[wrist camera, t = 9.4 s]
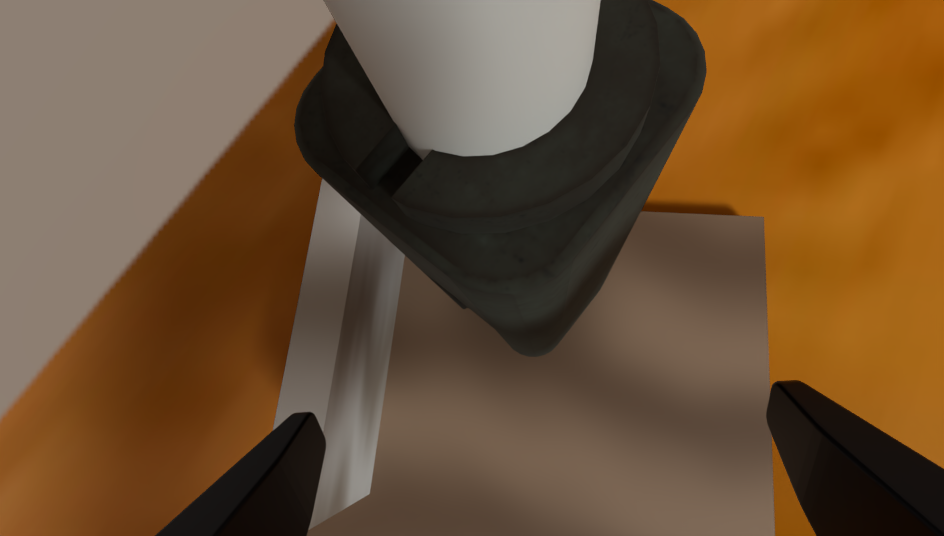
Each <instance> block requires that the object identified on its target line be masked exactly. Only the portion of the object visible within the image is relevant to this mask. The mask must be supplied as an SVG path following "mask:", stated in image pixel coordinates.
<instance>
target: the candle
mask: <svg viewBox="0 0 944 536" xmlns="http://www.w3.org/2000/svg"><path fill="white" fill-rule="evenodd" d="M324 2H325V4H326V6H327V7H328V9H329V11H330V12H331V14H332V16H333V18H334V19H335V21H336V23H337V24H336V26H335V29H334V31H333V34H332V36H331V39H330V41H329V44H328V46H327V48H326V51H325V57H324V65H323V67H322V68H321V69H320V71H319V72H318V73H317V74H316V75H315V76H314V78H313V79H312V80H311V82H310V83H309V84H308V86H307V87H306V89H305V90H304V92H303V94H302V96H301V99H300V101H299V104H298V106H297V109H296V116H295V124H294V127H295V134H296V141H297V144H298V146H299V149H300V151H301V153H302V155H303V157H304V159H305V161H306V162H307V163H308V164H309V165H310V166H311V167H312V168H313V170H314V171H315V172H316V173H317V174H318V175H319V176H320V177H322V178H323V179H324V180H325V181H326V182H327V183H328V184H329V185H330V186H331V187H332V188H333V189H334V190H336V191H337V192H338V193H339V194H340V195H341V196H342V197H343V198H344V199H345V200H346V201H347V202H348V203H349V204H351V205H352V206H353V207H354V208H355V209H356V210H357V211H358V212H359V213H360V214H361V215H362V216H363V217H364V218H366V219H367V220H368V221H369V222H370V223H371V224H372V225H373V226H374V227H375V228H376V229H377V230H378V231H379V232H381V233H382V234H383V235H384V236H385V237H386V238H387V239H388V240H389V241H390V242H391V243H392V244H393V245H394V246H396V247H397V248H398V249H399V250H400V251H401V252H402V253H403V254H404V255H405V256H406V257H407V258H408V259H410V260H411V261H412V262H413V263H414V264H415V265H416V266H417V267H418V268H419V269H420V270H421V271H422V272H423V273H425V274H426V275H427V276H428V277H429V278H430V279H431V280H432V281H433V282H434V283H435V284H436V285H437V286H438V287H440V288H441V289H442V290H443V291H444V292H445V293H446V294H447V295H448V296H449V297H450V298H451V299H452V300H453V301H455V302H456V303H457V304H458V305H459V306H460V307H461V308H462V309H466V308H469V309H471V310H472V311H473V312H474V313H476V314H477V315H478V316H479V317H481V318H482V319H483V320H484V321H485V322H487V323H488V324H489V325H490V326H491V327H493V328H494V329H495V330H496V331H497V332H498V333H499V334H500V336H501V337H502V338H503V339H504V340H505V341H506V342H507V343H508V344H509V346H510V347H511V348H512V349H513V350H514V351H516V352H518V353H519V354H521V355H525V356H528V357H538V356H542V355H545V354H547V353H549V352H551V351H552V350H553V349H554V348H555V347H556V346H557V345H558V344H559V343H560V341H561V340H562V339H563V337H564V336H565V335H566V333H567V332H568V331H569V330H570V328H571V327H572V326H573V324H574V323H575V322H576V321H577V319H578V318H579V317H580V315H581V314H582V313H583V312H584V310H585V309H586V308H587V306H588V305H589V304H590V302H591V301H592V300H593V299H594V297H595V296H596V295H597V293H598V292H599V291H600V289H601V287H602V286H603V284H604V282H605V280H606V278H607V276H608V274H609V272H610V270H611V268H612V266H613V264H614V262H615V261H616V259H617V257H618V255H619V253H620V251H621V249H622V247H623V245H624V243H625V241H626V239H627V237H628V235H629V233H630V231H631V229H632V227H633V226H634V224H635V222H636V220H637V218H638V216H639V214H640V212H641V210H642V208H643V206H644V204H645V202H646V200H647V198H648V196H649V194H650V192H651V191H652V189H653V187H654V185H655V183H656V181H657V179H658V177H659V175H660V173H661V171H662V169H663V167H664V165H665V163H666V161H667V159H668V158H669V156H670V154H671V152H672V150H673V148H674V146H675V144H676V142H677V140H678V138H679V136H680V134H681V132H682V130H683V128H684V126H685V124H686V123H687V121H688V119H689V117H690V115H691V113H692V111H693V109H694V107H695V105H696V103H697V101H698V99H699V97H700V95H701V93H702V90H703V85H704V81H705V77H706V61H705V51H704V49H703V46H702V44H701V42H700V40H699V37H698V35H697V33H696V32H695V31H694V30H693V28H692V27H691V26H690V25H689V24H688V23H687V22H686V20H685V19H684V18H682V17H681V16H679V15H678V14H676V13H675V12H673V11H672V10H670V9H669V8H667V7H665V6H663V5H661V4H659V3H657V2H655V1H653V0H324Z"/></svg>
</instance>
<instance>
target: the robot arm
mask: <svg viewBox="0 0 944 536" xmlns="http://www.w3.org/2000/svg"><path fill="white" fill-rule="evenodd" d="M766 419H767V424H768V427H769V429H770V432H771V434H772V437H773V439H774V442H775V444H776V446H777V449H778V451H779V454H780V456H781V459H782V461H783V464H784V466H785V469H786V471H787V474H788V476H789V478H790V481H791V483H792V486H793V488H794V491H795V493H796V495H797V498H798V500H799V502H800V505H801V507H802V509H803V511H804V513H805V515H806V517H807V519H808V521H809V522H810V524H811V526H812V528H813V530H814V532H815V534H816V535H817V536H944V469H943V468H941V467H940V466H938V465H937V464H935V463H933V462H932V461H930V460H928V459H927V458H925V457H924V456H922V455H920V454H919V453H917V452H915V451H914V450H912V449H911V448H909V447H907V446H906V445H904V444H902V443H901V442H899V441H898V440H896V439H894V438H893V437H891V436H889V435H888V434H886V433H885V432H883V431H881V430H880V429H878V428H876V427H875V426H873V425H872V424H870V423H868V422H867V421H865V420H863V419H862V418H860V417H859V416H857V415H855V414H854V413H852V412H850V411H849V410H847V409H845V408H844V407H842V406H841V405H839V404H837V403H836V402H834V401H832V400H831V399H829V398H828V397H826V396H824V395H823V394H821V393H819V392H818V391H816V390H815V389H813V388H811V387H810V386H808V385H806V384H805V383H803V382H801V381H798V380H790V381H777V382H775V383H774V384H773V385H772V388H771V392H770V397H769V401H768V406H767V411H766ZM325 451H326V439H325V436H324V434H323V431H322V429H321V427H320V425H319V422H318V420H317V418H316V416H315V414H314V413H312V412H296V413H293V414H291V415H290V416H289V417H288V418H287V419H285V420H284V421H283V422H282V423H281V424H280V425H279V426H278V427H276V428H275V429H274V430H273V431H272V432H271V433H270V434H269V435H267V436H266V437H265V438H264V439H263V440H262V441H261V442H260V443H258V444H257V445H256V446H255V447H254V448H253V449H252V450H251V451H250V452H248V453H247V454H246V455H245V456H244V457H243V458H242V459H241V460H239V461H238V462H237V463H236V464H235V465H234V466H233V467H232V468H230V469H229V470H228V471H227V472H226V473H225V474H224V475H223V476H221V477H220V478H219V479H218V480H217V481H216V482H215V483H214V484H212V485H211V486H210V487H209V488H208V489H207V490H206V491H205V492H203V493H202V494H201V495H200V496H199V497H198V498H197V499H196V500H195V501H193V502H192V503H191V504H190V505H189V506H188V507H187V508H186V509H184V510H183V511H182V512H181V513H180V514H179V515H178V516H177V517H175V518H174V519H173V520H172V521H171V522H170V523H169V524H168V525H166V526H165V527H164V528H163V529H162V530H161V531H160V532H159V533H157V534H156V535H155V536H307V533H308V530H309V526H310V523H311V519H312V514H313V510H314V505H315V500H316V495H317V490H318V486H319V481H320V476H321V471H322V466H323V461H324V456H325Z"/></svg>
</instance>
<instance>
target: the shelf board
mask: <svg viewBox="0 0 944 536" xmlns="http://www.w3.org/2000/svg"><path fill="white" fill-rule="evenodd" d="M769 397H770V381H769V353H768V324H767V296H766V268H765V240H764V217H753V216H731V215H710V214H688V213H667V212H645V211H641V212H640V214H639V216H638V218H637V220H636V222H635V224H634V226H633V227H632V229H631V231H630V233H629V235H628V237H627V239H626V241H625V243H624V245H623V247H622V249H621V251H620V253H619V255H618V257H617V259H616V261H615V262H614V264H613V266H612V268H611V270H610V272H609V274H608V276H607V278H606V280H605V282H604V284H603V286H602V287H601V289H600V291H599V292H598V293H597V295H596V296H595V297H594V299H593V300H592V301H591V302H590V304H589V305H588V306H587V308H586V309H585V310H584V312H583V313H582V314H581V315H580V317H579V318H578V319H577V321H576V322H575V323H574V324H573V326H572V327H571V328H570V330H569V331H568V332H567V333H566V335H565V336H564V337H563V339H562V340H561V341H560V343H559V344H558V345H557V346H556V347H555V348H554V349H553V350H552V351H551V352H549V353H547V354H545V355H542V356H538V357H528V356H525V355H521V354H519V353H518V352H516V351H514V350H513V349H512V348H511V347H510V346H509V344H508V343H507V342H506V341H505V340H504V339H503V338H502V337H501V336H500V334H499V333H498V332H497V331H496V330H495V329H494V328H493V327H491V326H490V325H489V324H488V323H487V322H485V321H484V320H483V319H482V318H481V317H479V316H478V315H477V314H476V313H474V312H473V311H472V310H471V309H469V308H466V309H462V308H461V307H460V306H459V305H458V304H457V303H456V302H455V301H453V300H452V299H451V298H450V297H449V296H448V295H447V294H446V293H445V292H444V291H443V290H442V289H441V288H440V287H438V286H437V285H436V284H435V283H434V282H433V281H432V280H431V279H430V278H429V277H428V276H427V275H426V274H425V273H423V272H422V271H421V270H420V269H419V268H418V267H417V266H416V265H415V264H414V263H413V262H412V261H411V260H410V259H408V258H407V257H406V256H405V255H404V254H403V253H402V252H401V251H400V250H399V249H398V248H397V247H396V246H394V245H393V244H392V243H391V242H390V241H389V240H388V239H387V238H386V237H385V236H384V235H383V234H382V233H381V232H379V231H378V230H377V229H376V228H375V227H374V226H373V225H372V224H371V223H370V222H369V221H368V220H367V219H366V218H364V217H363V216H362V215H361V214H360V213H359V212H358V211H357V210H356V209H355V208H354V207H353V206H352V205H351V204H349V203H348V202H347V201H346V200H345V199H344V198H343V197H342V196H341V195H340V194H339V193H338V192H337V191H336V190H334V189H333V188H332V187H331V186H330V185H329V184H328V183H327V182H326V181H325V180H324V179H323V178H322V182H321V187H320V192H319V197H318V203H317V208H316V213H315V218H314V223H313V228H312V233H311V238H310V243H309V248H308V253H307V259H306V264H305V269H304V274H303V279H302V284H301V289H300V294H299V299H298V304H297V309H296V314H295V320H294V325H293V330H292V335H291V340H290V345H289V350H288V355H287V360H286V365H285V370H284V376H283V381H282V386H281V391H280V396H279V401H278V406H277V411H276V416H275V421H274V426H273V430H274V429H275V428H276V427H278V426H279V425H280V424H281V423H282V422H283V421H284V420H285V419H287V418H288V417H289V416H290V415H291V414H293V413H296V412H312V413H314V414H315V416H316V418H317V420H318V422H319V425H320V427H321V429H322V431H323V434H324V436H325V439H326V451H325V456H324V461H323V466H322V471H321V476H320V481H319V486H318V490H317V495H316V500H315V505H314V510H313V514H312V519H311V523H310V526H309V530H308V533H307V536H775V522H774V494H773V466H772V437H771V432H770V429H769V427H768V424H767V419H766V411H767V406H768V401H769Z"/></svg>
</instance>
